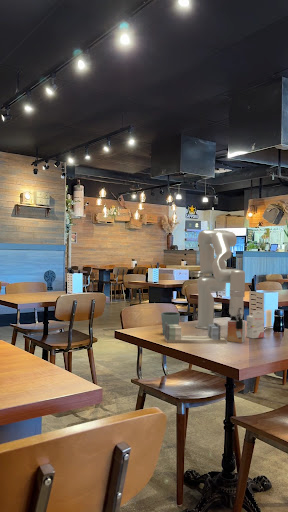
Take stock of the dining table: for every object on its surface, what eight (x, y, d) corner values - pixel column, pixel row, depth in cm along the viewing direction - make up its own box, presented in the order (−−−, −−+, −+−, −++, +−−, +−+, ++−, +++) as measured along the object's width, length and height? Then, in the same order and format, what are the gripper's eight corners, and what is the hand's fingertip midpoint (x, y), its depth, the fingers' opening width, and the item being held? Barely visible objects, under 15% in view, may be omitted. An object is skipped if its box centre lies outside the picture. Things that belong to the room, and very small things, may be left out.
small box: (226, 341, 219) (227, 321, 219) (229, 339, 224) (230, 319, 224) (242, 343, 215) (242, 322, 215) (244, 341, 220) (245, 321, 220)
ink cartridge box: (257, 335, 235) (258, 309, 235) (264, 337, 231) (264, 310, 231) (245, 336, 231) (246, 310, 231) (252, 338, 227) (252, 311, 227)
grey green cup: (183, 335, 232) (183, 313, 232) (171, 337, 225) (171, 315, 225) (168, 332, 239) (169, 311, 239) (157, 334, 232) (157, 313, 232)
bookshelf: (164, 339, 220) (164, 322, 220) (220, 339, 223) (220, 322, 223) (167, 344, 209) (167, 326, 209) (226, 344, 212) (226, 326, 212)
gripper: (225, 292, 227) (224, 324, 228) (235, 295, 210) (234, 330, 210) (238, 292, 228) (238, 324, 228) (250, 295, 211) (249, 330, 211)
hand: (236, 327), depth 219 cm, fingers closed on small box, 8 cm apart
